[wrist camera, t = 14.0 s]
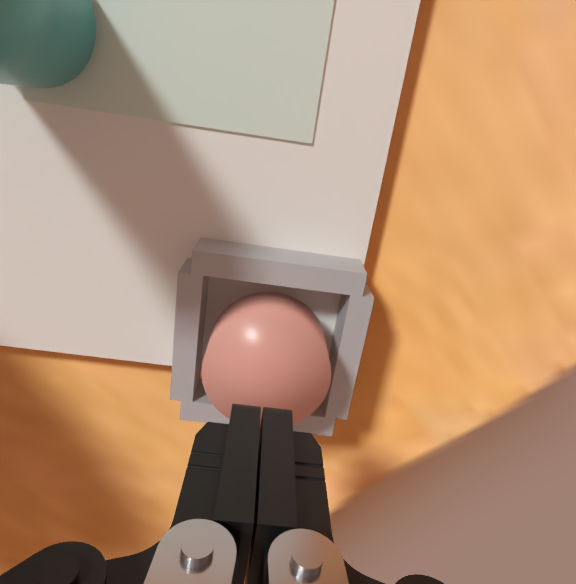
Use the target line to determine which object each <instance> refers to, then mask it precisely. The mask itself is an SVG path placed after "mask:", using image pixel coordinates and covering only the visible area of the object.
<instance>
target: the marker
mask: <svg viewBox="0 0 576 584" xmlns="http://www.w3.org/2000/svg"><path fill="white" fill-rule="evenodd" d="M95 39H96V21H95V15H94V9H93V6H92V3H91V0H0V84H6V85H15V86H24V87H33V88H53V87H57V86H61V85H63V84H66V83H68V82H69V81H71V80H73V79H74V78H75V77H76V76H78V75H79V74H80V73H81V71H82V70H83V69H84V68H85V66H86V65H87V63H88V61H89V59H90V57H91V55H92V52H93V49H94V45H95Z"/></svg>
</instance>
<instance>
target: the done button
mask: <svg viewBox="0 0 576 584" xmlns="http://www.w3.org/2000/svg"><path fill="white" fill-rule="evenodd" d="M201 376H202V383H203V386H204V390H205V392H206V394H207V396H208V398H209V400H210V401H211V403H212V404H213V405H214V406H215V408H216V409H217V410H218V411H219V412H220V413H222V414H223V415H224V416H226V417H227V418H228V419H230V415H231V409H232V403H234V404H243V405H251V406H260V407H261V417H262V411H263V407H270V408H279V409H287V410H292V416H293V424H296V423H298V422H300V421H302V420H303V419H305V418H307V417H308V416H309V415H311V414H312V413H313V412H314V411H315V410H316V409H317V408H318V407H319V406H320V404H321V403H322V402H323V400H324V398H325V397H326V394H327V392H328V390H329V386H330V381H331V366H330V360H329V355H328V350H327V345H326V340H325V334H324V331H323V328H322V325H321V323H320V321H319V319H318V318H317V316H316V315H315V314H314V312H313V311H312V310H311V309H310V308H309V307H307V306H306V305H305V304H304V303H302V302H301V301H299V300H297V299H295V298H293V297H291V296H288V295H285V294H281V293H274V292H260V293H255V294H250V295H247V296H244V297H242V298H240V299H238V300H236V301H235V302H233V303H232V304H230V305H229V306H228V307H227V308H226V309H225V310H224V311H223V312H222V313H221V314H220V316H219V317H218V319H217V321H216V323H215V325H214V327H213V331H212V334H211V337H210V340H209V343H208V346H207V349H206V352H205V355H204V358H203V362H202V369H201ZM261 417H260V423H261Z"/></svg>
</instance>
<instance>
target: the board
mask: <svg viewBox="0 0 576 584" xmlns="http://www.w3.org/2000/svg"><path fill="white" fill-rule="evenodd" d="M420 1H421V0H91V3H92V6H93V9H94V15H95V21H96V39H95V45H94V49H93V52H92V55H91V57H90V59H89V61H88V63H87V65H86V66H85V68H84V69H83V70H82V71H81V73H80V74H79V75H78V76H76V77H75V78H74V79H73V80H71V81H69V82H68V83H66V84H63V85H61V86H57V87H53V88H33V87H24V86H15V85H6V84H0V345H1V346H9V347H18V348H26V349H34V350H43V351H51V352H60V353H68V354H76V355H85V356H93V357H101V358H110V359H118V360H127V361H135V362H143V363H152V364H160V365H169V366H172V372H171V388H170V400H178V401H181V409H180V420H189V421H198V422H215V423H224V424H229V421H230V419H228V418H227V417H226V416H224V415H223V414H222V413H220V412H219V411H218V410H217V409H216V408H215V406H214V405H213V404H212V403H211V401H210V400H209V398H208V396H207V394H206V392H205V390H204V386H203V383H202V378H200V371H201V369H202V362H203V358H204V355H205V352H206V349H207V346H208V343H209V340H210V337H211V334H212V331H213V327H214V325H215V323H216V321H217V319H218V317H219V316H220V314H221V313H222V312H223V311H224V310H225V309H226V308H227V307H228V306H229V305H230V304H232V303H233V302H235V301H236V300H238V299H240V298H242V297H244V296H247V295H250V294H255V293H260V292H274V293H281V294H285V295H288V296H291V297H293V298H295V299H297V300H299V301H301V302H302V303H304V304H305V305H306V306H307V307H309V308H310V309H311V310H312V311H313V312H314V314H315V315H316V316H317V318H318V319H319V321H320V323H321V325H322V328H323V331H324V334H325V340H326V345H327V350H328V355H329V360H330V366H331V381H330V386H329V390H328V392H327V394H326V397H325V398H324V400H323V402H322V403H321V404H320V406H319V407H318V408H317V409H316V410H315V411H314V412H313V413H312V414H311V415H309V416H308V417H307V418H305V419H303V420H302V421H300V422H298V423H296V424H293V431H297V432H306V433H311V434H314V435H323V436H332V435H333V430H334V425H335V421H336V419H344V420H347V417H348V412H349V408H350V404H351V399H352V395H353V390H354V386H355V382H356V377H357V373H358V368H359V364H360V360H361V355H362V351H363V346H364V342H365V338H366V333H367V329H368V325H369V320H370V316H371V311H372V307H373V303H374V296H373V294H372V293H371V291H370V289H369V287H368V285H367V283H366V278H367V272H366V270H365V268H364V263H365V258H366V254H367V249H368V244H369V240H370V235H371V230H372V226H373V221H374V216H375V212H376V207H377V202H378V198H379V193H380V188H381V184H382V179H383V174H384V169H385V165H386V160H387V155H388V151H389V146H390V141H391V137H392V132H393V127H394V123H395V118H396V113H397V109H398V104H399V99H400V95H401V90H402V85H403V80H404V76H405V71H406V66H407V62H408V57H409V52H410V48H411V43H412V38H413V34H414V29H415V24H416V20H417V15H418V10H419V6H420Z"/></svg>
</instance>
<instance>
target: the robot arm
mask: <svg viewBox="0 0 576 584" xmlns="http://www.w3.org/2000/svg"><path fill="white" fill-rule="evenodd" d="M260 417H261V407H260V406H251V405H243V404H234V403H232V409H231V415H230V421H229V424H224V423H215V422H207V423H206V424H205V426H204V427H203V428H202V429H201V430H200V431H199V432H198V433H197V434H196V436H195V440H194V443H193V447H192V451H191V455H190V459H189V462H188V467H187V470H186V474H185V477H184V481H183V485H182V489H181V493H180V496H179V500H178V504H177V508H176V512H175V515H174V519H173V522H172V525H171V527H170V529H169V530H168V531H167V532H166V533H165V534H164V536H163V537H162V538H161V540H160V541H159V542H158V543H156V544H155V545H154V546H152V547H150V548H149V549H147V550H145V551H142V552H140V553H137V554H134V555H130V556H125V557H120V558H116V559H111V560H106V561H105V559H104V557H103V555H102V554H101V553H100V551H98V550H97V549H96V548H95V547H93V546H91V545H89V544H86V543H83V542H63V543H58V544H55V545H52V546H49V547H47V548H45V549H43V550H41V551H39V552H37V553H36V554H34V555H33V556H31V557H29V558H28V559H26V560H25V561H23V562H21V563H20V564H18V565H17V566H15V567H13V568H12V569H10V570H9V571H7V572H5V573H4V574H2V575H1V576H0V584H244V581H245V584H384V583H382V582H379V581H377V580H375V579H372V578H370V577H367V576H365V575H363V574H361V573H360V572H358V571H356V570H355V569H353V568H352V567H351V566H350V565H349V564H348V563H347V562H346V561H345V560H344V559H343V558H342V555H341V553H340V551H339V550H338V548H337V547H336V545H335V544H334V542H333V537H332V531H331V524H330V515H329V507H328V499H327V491H326V483H325V475H324V468H323V459H322V451H321V447H320V446H319V444H318V443H317V441H316V440H315V438H314V437H313V435H312V434H311V433H306V432H297V431H293V416H292V410H287V409H279V408H270V407H263V411H262V417H261V423H260ZM245 575H246V577H245ZM396 584H444V583H442V582H441V581H439V580H437V579H434V578H432V577H429V576H425V575H408V576H406V577H403V578H401V579H400V580H398V582H397V583H396Z"/></svg>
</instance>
